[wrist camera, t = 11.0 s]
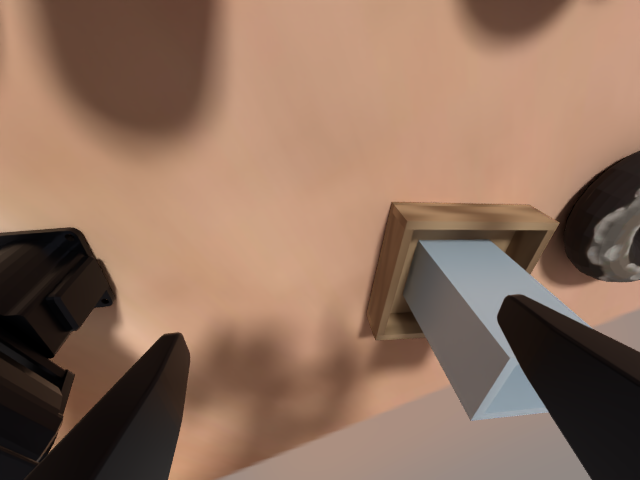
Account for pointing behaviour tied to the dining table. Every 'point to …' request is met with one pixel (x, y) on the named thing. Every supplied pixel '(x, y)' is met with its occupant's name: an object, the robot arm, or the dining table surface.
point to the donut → (608, 225)
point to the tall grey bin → (475, 322)
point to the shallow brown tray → (446, 224)
